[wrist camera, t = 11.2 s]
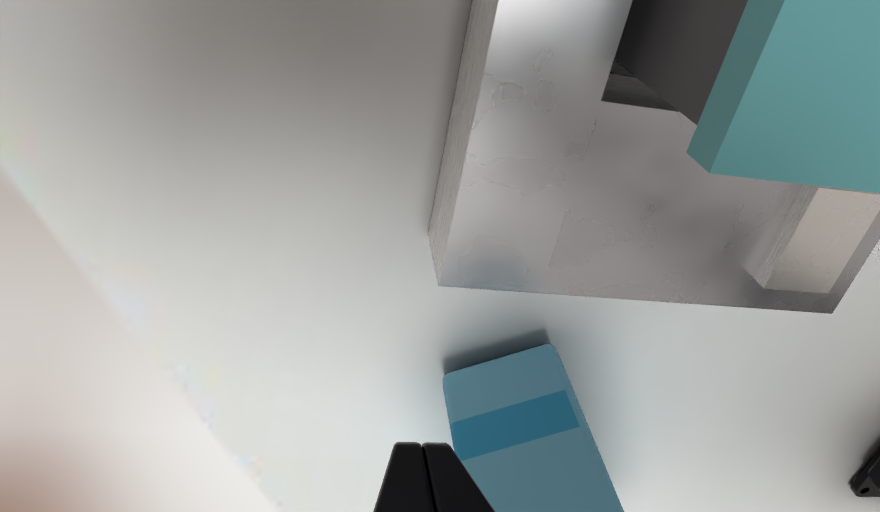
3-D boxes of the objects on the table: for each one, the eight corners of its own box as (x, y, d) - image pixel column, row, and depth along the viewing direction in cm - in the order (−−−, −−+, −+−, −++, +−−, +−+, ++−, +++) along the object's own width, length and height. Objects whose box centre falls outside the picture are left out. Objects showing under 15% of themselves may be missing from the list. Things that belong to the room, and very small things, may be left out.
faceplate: (1018, -163, 17) (1161, -164, 14) (782, 265, 24) (843, 324, 21) (527, -292, 14) (576, -327, 11) (427, 234, 22) (441, 297, 19)
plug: (794, -92, 17) (1072, -53, 11) (723, 79, 20) (913, 196, 13) (634, -127, 16) (831, -107, 10) (581, 57, 19) (709, 173, 12)
